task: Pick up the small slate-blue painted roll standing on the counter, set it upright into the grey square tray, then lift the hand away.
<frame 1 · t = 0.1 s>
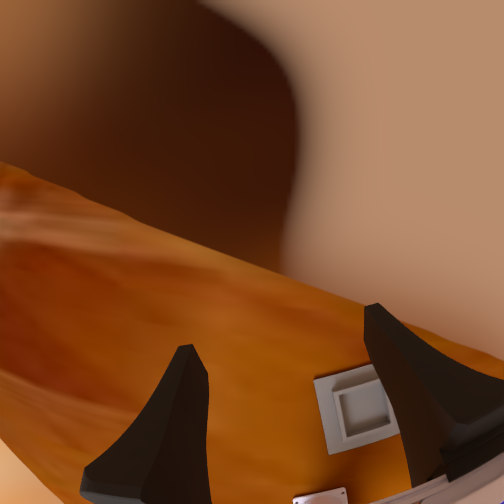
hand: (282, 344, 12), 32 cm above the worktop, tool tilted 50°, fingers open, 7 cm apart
grey square tray: (361, 407, 38), on the worktop
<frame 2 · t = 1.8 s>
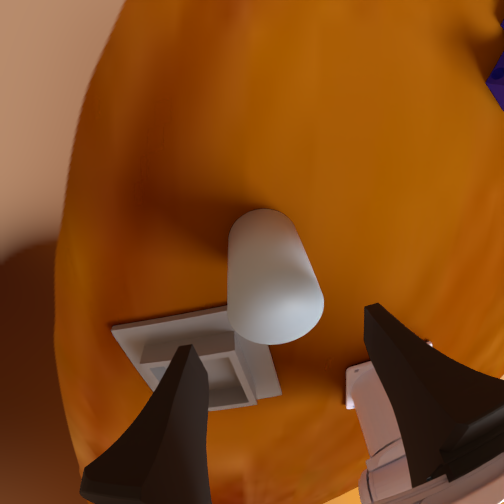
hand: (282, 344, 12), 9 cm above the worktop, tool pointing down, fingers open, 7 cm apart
roll: (263, 240, 20), on the worktop
grey square tray: (203, 364, 26), on the worktop
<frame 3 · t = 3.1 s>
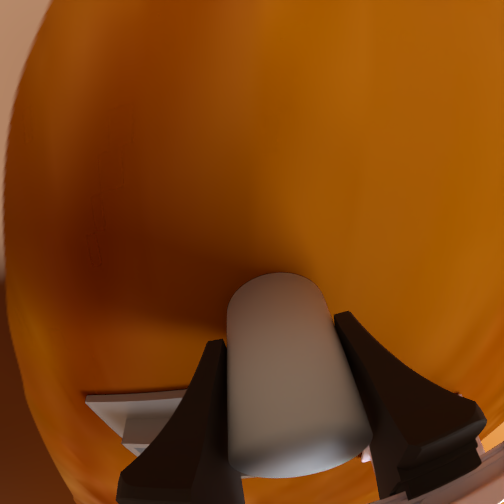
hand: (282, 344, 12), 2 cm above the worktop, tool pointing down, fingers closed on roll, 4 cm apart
roll: (276, 313, 14), on the worktop, touching gripper
grey square tray: (198, 434, 20), on the worktop
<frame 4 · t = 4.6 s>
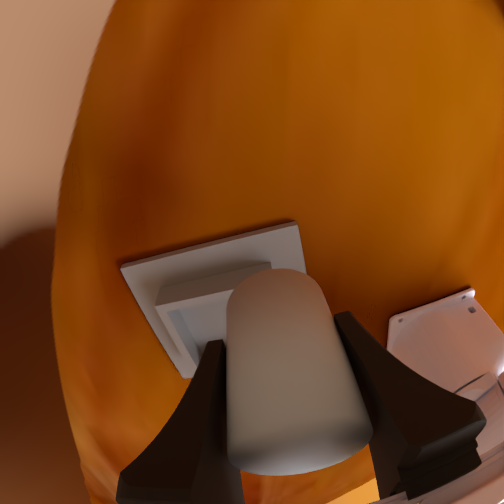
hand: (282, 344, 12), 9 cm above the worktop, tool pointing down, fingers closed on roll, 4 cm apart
roll: (276, 310, 14), point 7 cm above the worktop, touching gripper
grey square tray: (229, 312, 23), on the worktop
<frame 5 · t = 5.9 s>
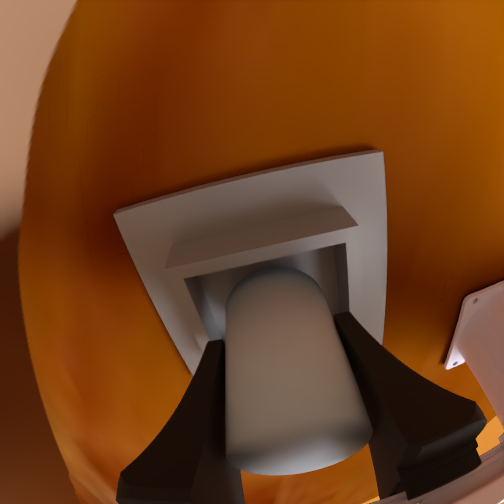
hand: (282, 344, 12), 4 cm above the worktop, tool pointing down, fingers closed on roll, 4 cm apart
roll: (275, 309, 14), point 2 cm above the worktop, touching gripper
grey square tray: (272, 287, 16), on the worktop
when the fingers open (4 cm above the worktop, at t = 6.5 s): roll stays where it is, resting on grey square tray.
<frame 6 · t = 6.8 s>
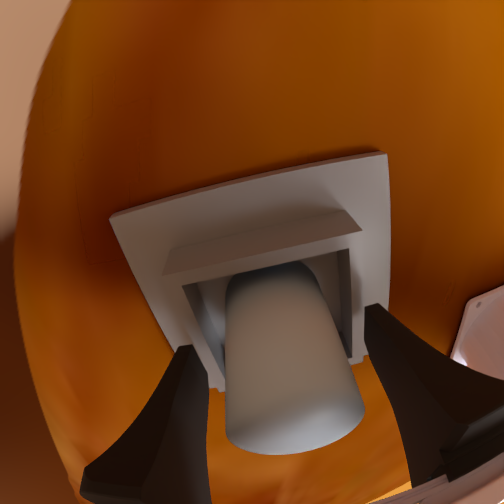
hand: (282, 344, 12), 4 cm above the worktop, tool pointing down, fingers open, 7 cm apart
roll: (272, 297, 15), point 1 cm above the worktop, touching grey square tray
grey square tray: (272, 293, 15), on the worktop
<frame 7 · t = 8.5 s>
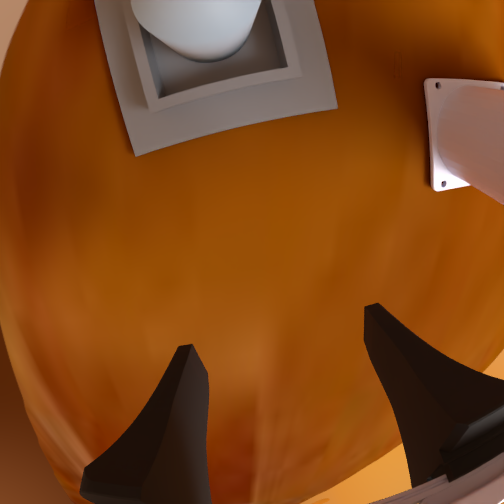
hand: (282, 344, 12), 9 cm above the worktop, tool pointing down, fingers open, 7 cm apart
roll: (208, 26, 13), point 1 cm above the worktop, touching grey square tray
grey square tray: (210, 31, 14), on the worktop
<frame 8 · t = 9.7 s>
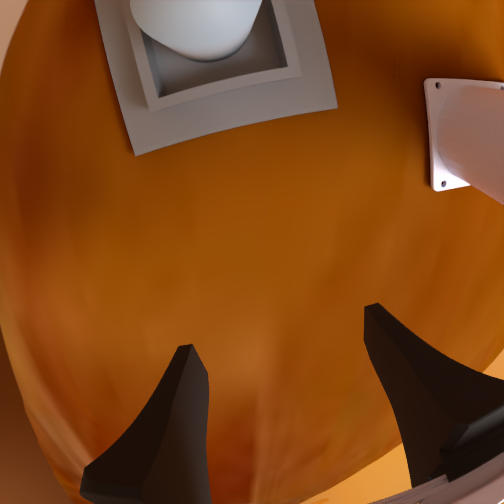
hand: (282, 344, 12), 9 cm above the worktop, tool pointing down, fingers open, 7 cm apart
roll: (208, 26, 13), point 1 cm above the worktop, touching grey square tray
grey square tray: (210, 31, 14), on the worktop
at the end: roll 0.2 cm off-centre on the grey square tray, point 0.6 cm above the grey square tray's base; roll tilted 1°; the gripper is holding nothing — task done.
